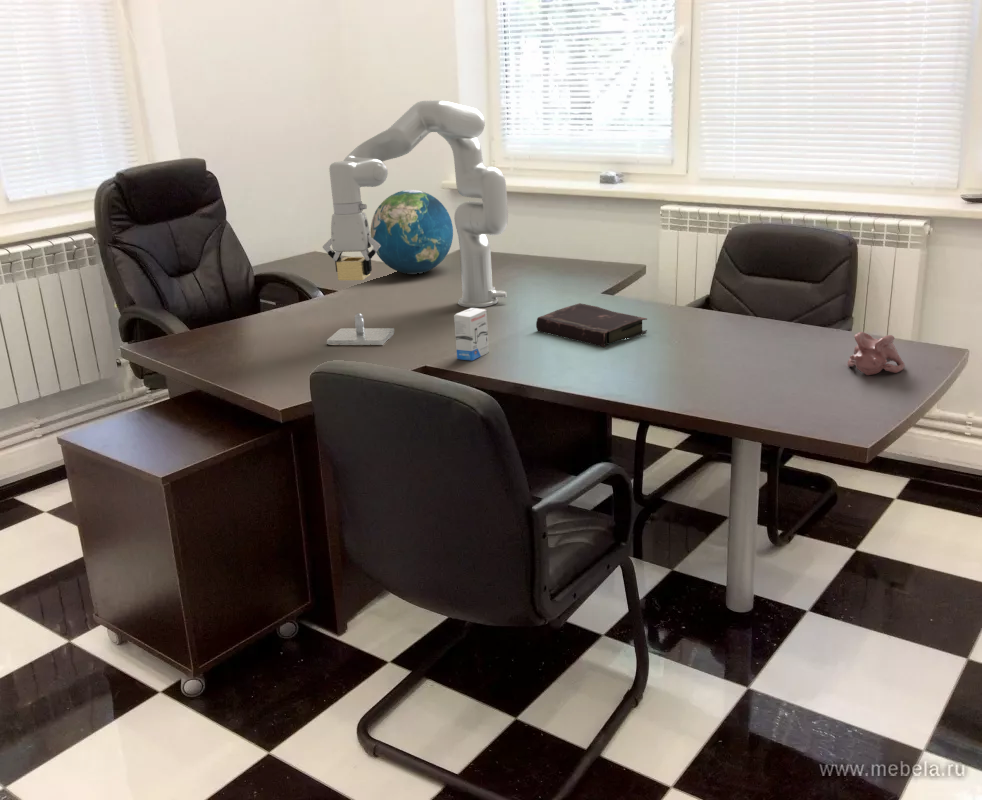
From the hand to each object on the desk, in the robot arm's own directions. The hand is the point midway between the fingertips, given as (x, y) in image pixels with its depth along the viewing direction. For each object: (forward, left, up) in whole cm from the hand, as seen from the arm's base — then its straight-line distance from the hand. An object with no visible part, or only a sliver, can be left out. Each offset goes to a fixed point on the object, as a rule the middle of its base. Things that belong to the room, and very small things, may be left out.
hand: (354, 273), depth 256 cm
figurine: (-131, +25, -19) cm, 135 cm away
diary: (-64, -7, -19) cm, 68 cm away
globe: (+6, -85, -19) cm, 87 cm away
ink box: (-35, +15, -19) cm, 43 cm away
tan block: (0, 0, -1) cm, 1 cm away
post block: (0, 0, -19) cm, 19 cm away
